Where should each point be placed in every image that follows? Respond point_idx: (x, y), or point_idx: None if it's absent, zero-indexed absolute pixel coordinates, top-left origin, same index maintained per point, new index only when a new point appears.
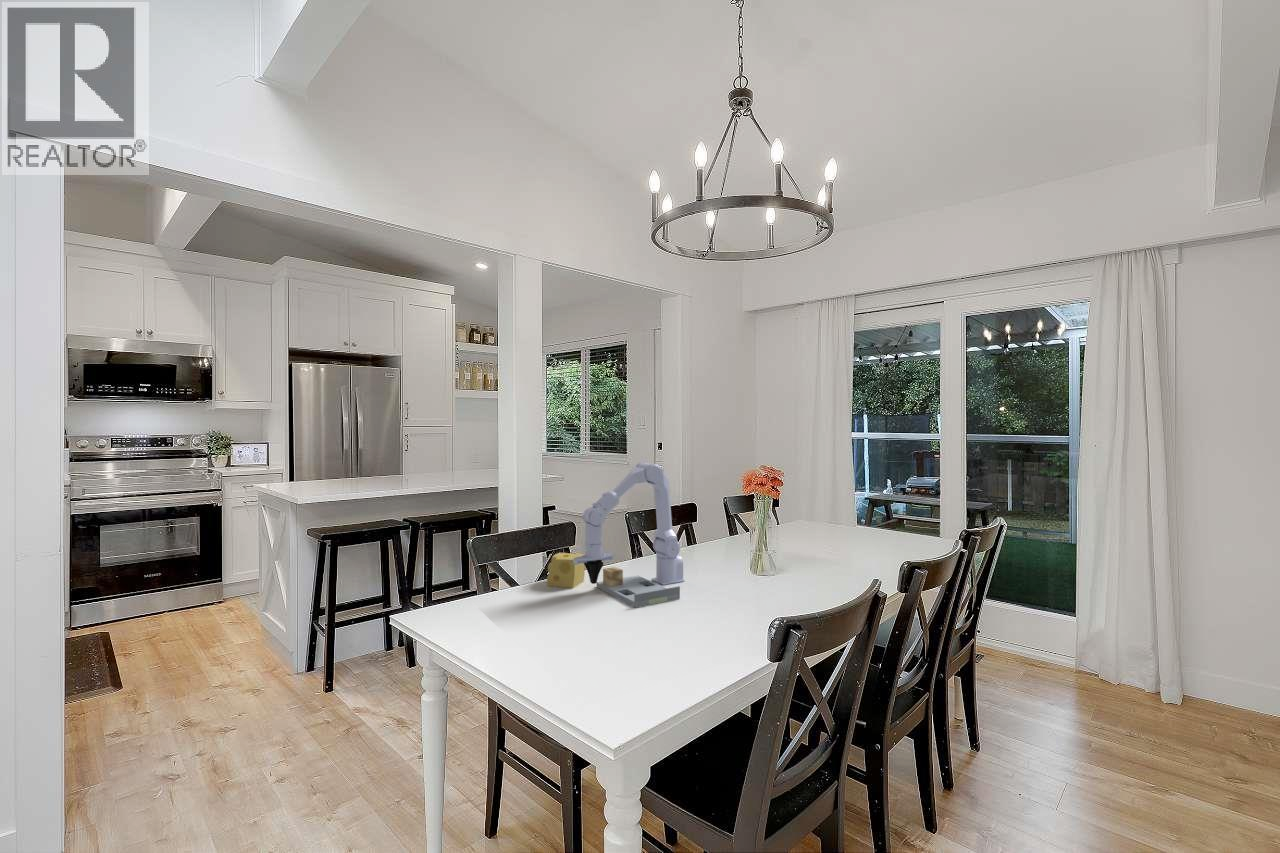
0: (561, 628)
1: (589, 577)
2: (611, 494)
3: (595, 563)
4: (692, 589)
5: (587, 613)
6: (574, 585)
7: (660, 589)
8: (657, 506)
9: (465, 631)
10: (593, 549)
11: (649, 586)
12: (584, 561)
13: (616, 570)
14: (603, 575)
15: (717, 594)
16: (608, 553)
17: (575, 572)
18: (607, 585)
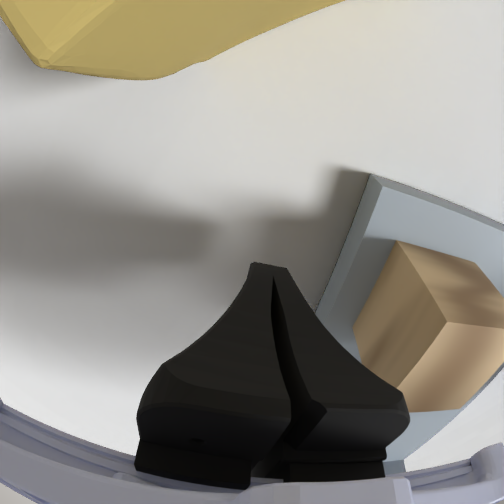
0: (13, 395)
1: (245, 282)
2: None
3: (260, 474)
4: (489, 413)
5: (85, 397)
6: (224, 49)
7: (421, 432)
8: None
9: None
10: None
11: None
12: (98, 471)
13: (435, 404)
14: (416, 285)
15: (463, 446)
16: (496, 499)
17: (210, 40)
18: (363, 302)
